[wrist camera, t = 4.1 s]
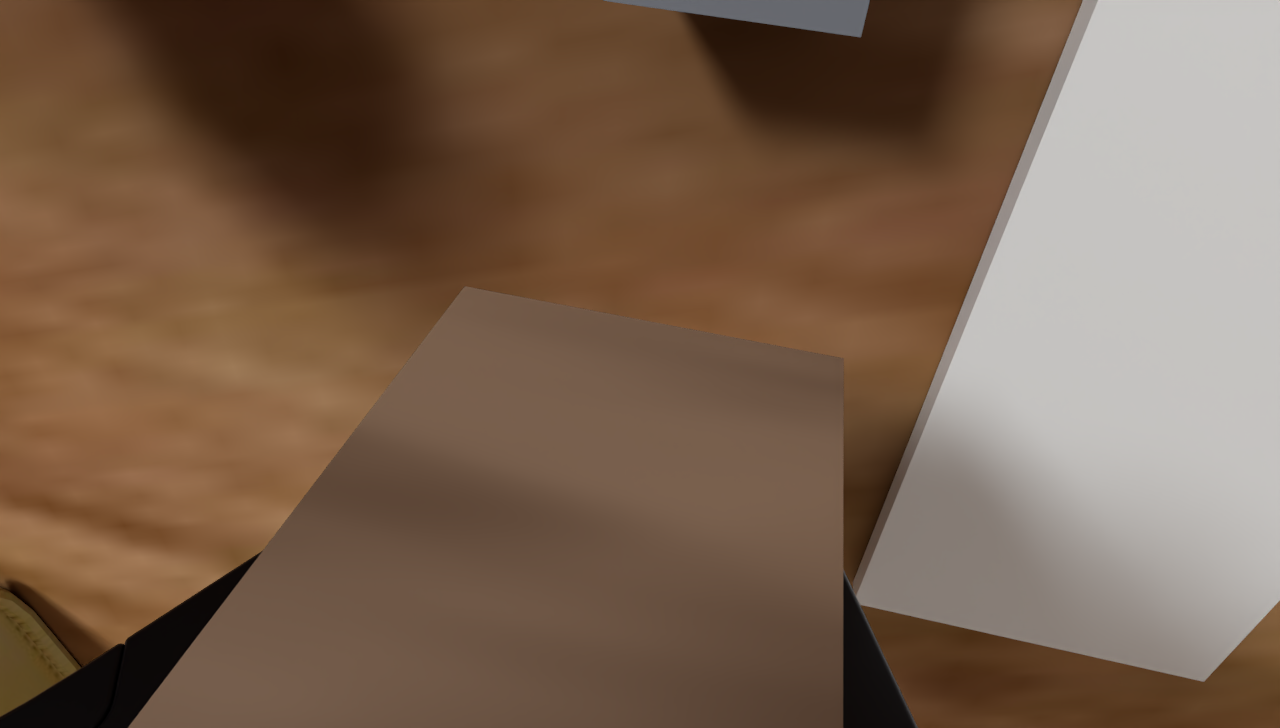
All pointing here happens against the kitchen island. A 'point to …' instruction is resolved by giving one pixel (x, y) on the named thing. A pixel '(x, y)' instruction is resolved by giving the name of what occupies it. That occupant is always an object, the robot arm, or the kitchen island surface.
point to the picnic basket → (27, 654)
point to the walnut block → (551, 542)
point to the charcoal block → (776, 12)
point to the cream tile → (1114, 362)
